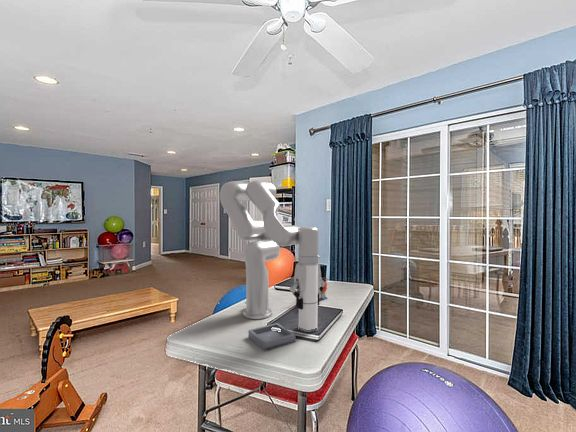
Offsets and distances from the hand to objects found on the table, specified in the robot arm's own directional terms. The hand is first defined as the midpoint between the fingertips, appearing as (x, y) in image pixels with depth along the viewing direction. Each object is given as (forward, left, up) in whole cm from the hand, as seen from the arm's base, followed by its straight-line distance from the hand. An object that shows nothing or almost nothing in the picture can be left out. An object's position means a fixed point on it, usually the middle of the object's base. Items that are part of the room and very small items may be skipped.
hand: (308, 305), depth 113 cm
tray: (0, -16, -9) cm, 18 cm away
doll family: (-24, +21, -9) cm, 33 cm away
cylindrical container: (0, 0, -9) cm, 9 cm away
